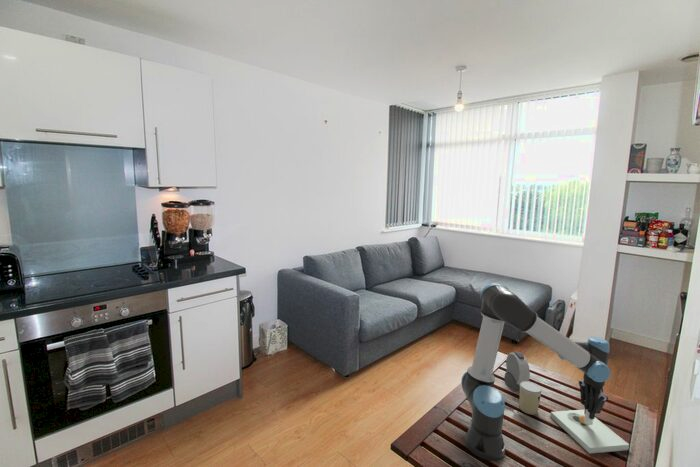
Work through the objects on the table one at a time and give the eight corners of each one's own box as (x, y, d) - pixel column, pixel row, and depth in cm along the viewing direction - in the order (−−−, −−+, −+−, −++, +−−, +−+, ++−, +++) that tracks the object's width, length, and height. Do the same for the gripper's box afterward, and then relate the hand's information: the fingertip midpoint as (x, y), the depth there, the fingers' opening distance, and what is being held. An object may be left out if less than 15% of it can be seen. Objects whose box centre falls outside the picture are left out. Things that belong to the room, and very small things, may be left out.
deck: (628, 450, 138) (629, 444, 137) (589, 453, 135) (590, 447, 135) (584, 414, 159) (585, 409, 159) (550, 416, 157) (550, 411, 156)
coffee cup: (542, 417, 156) (544, 393, 155) (520, 414, 158) (523, 390, 156) (535, 404, 165) (538, 382, 164) (515, 401, 167) (517, 379, 166)
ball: (576, 420, 151) (583, 426, 147) (577, 413, 150) (584, 419, 147) (583, 420, 151) (590, 425, 148) (584, 413, 151) (591, 418, 147)
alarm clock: (533, 393, 174) (536, 361, 172) (513, 393, 174) (516, 360, 172) (517, 376, 190) (521, 346, 188) (500, 375, 190) (502, 345, 188)
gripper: (616, 381, 138) (609, 433, 141) (590, 365, 150) (583, 413, 154) (600, 382, 137) (593, 435, 140) (575, 366, 149) (569, 414, 153)
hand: (588, 423), depth 147 cm, fingers closed
